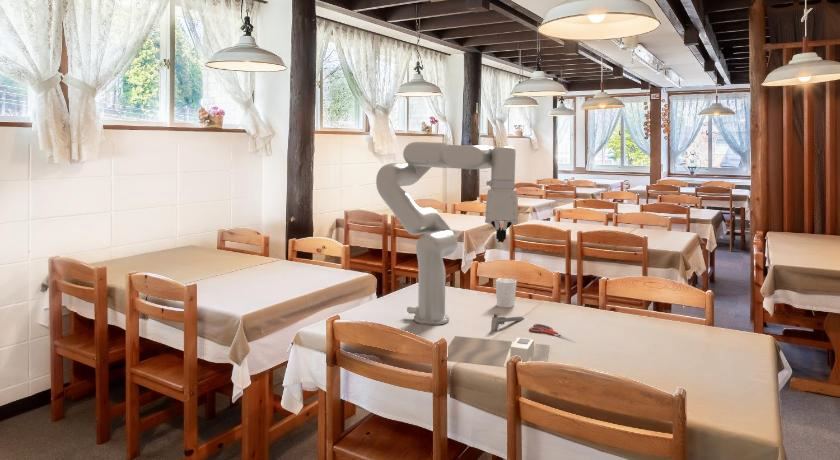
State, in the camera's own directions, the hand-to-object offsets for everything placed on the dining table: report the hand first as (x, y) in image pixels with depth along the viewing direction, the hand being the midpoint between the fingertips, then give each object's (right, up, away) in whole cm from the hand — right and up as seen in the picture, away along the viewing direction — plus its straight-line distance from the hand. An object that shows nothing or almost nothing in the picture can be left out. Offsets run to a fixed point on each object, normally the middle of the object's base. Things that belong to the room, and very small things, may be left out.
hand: (501, 241), depth 190 cm
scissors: (+19, -32, +4) cm, 37 cm away
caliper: (+4, -30, +14) cm, 33 cm away
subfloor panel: (-3, -34, -14) cm, 36 cm away
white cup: (+7, -26, +39) cm, 47 cm away
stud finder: (+4, -34, -17) cm, 38 cm away
